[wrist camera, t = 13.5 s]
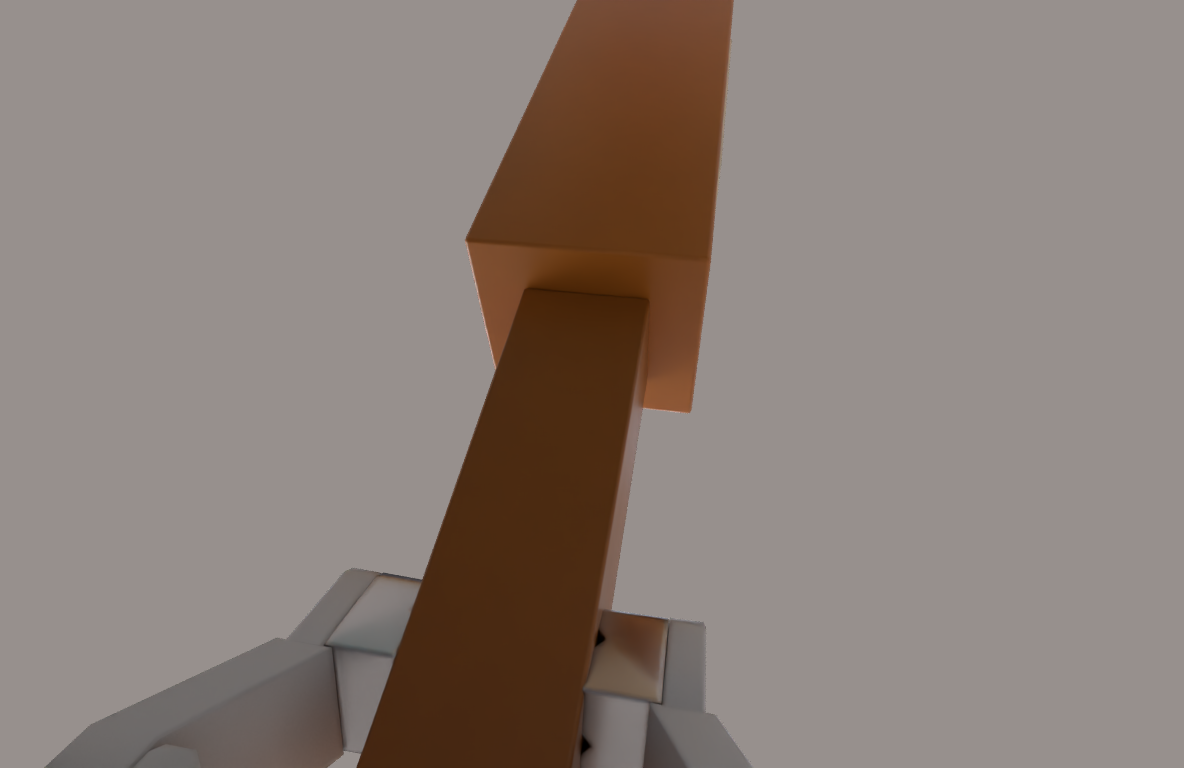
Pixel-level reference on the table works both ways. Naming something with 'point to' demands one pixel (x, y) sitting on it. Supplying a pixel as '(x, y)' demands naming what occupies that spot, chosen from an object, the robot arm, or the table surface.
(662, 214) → the orange block with handle
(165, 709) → the robot arm
